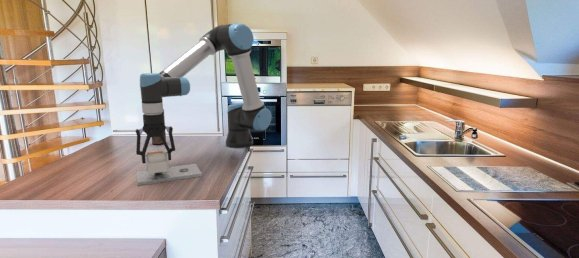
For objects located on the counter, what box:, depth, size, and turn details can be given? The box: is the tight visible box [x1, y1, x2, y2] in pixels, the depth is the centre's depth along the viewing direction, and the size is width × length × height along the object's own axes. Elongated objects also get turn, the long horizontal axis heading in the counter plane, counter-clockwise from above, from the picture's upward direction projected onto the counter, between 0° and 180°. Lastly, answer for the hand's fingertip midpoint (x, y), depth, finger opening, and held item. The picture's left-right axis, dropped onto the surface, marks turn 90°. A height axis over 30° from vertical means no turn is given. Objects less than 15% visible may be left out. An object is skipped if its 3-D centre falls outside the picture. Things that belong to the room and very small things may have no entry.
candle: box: [151, 108, 167, 145], centre depth 183 cm, size 8×7×20 cm
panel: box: [136, 163, 203, 187], centre depth 135 cm, size 24×14×4 cm, turn 116°
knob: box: [146, 150, 168, 174], centre depth 132 cm, size 7×7×8 cm
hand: (157, 169), depth 133 cm, fingers closed on knob, 7 cm apart
